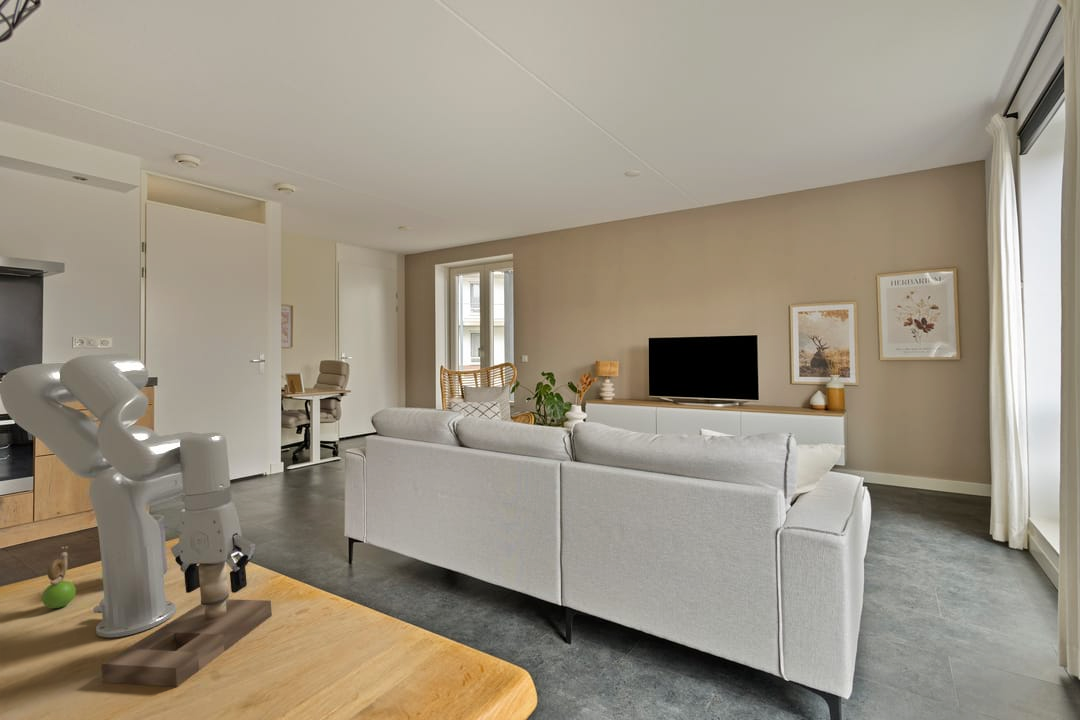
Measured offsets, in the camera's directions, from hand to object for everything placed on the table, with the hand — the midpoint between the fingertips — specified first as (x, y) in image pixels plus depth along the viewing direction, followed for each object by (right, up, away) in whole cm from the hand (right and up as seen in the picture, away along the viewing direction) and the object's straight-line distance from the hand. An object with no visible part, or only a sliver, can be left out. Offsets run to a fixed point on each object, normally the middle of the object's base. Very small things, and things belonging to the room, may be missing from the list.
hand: (216, 589), depth 100 cm
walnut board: (-1, -8, -5) cm, 9 cm away
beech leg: (0, -5, 0) cm, 5 cm away
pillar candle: (-36, -10, +29) cm, 47 cm away
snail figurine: (-43, -10, +15) cm, 47 cm away
